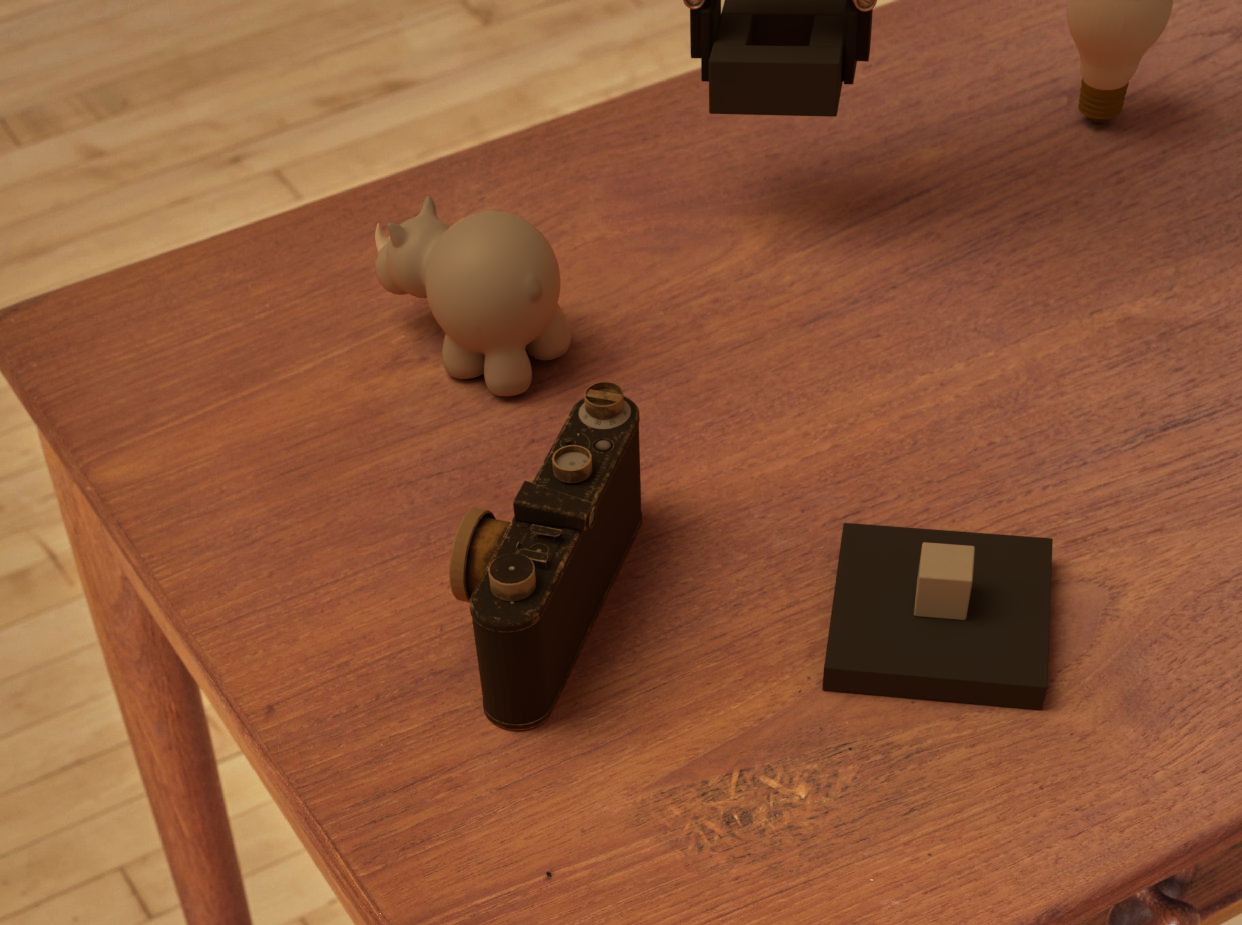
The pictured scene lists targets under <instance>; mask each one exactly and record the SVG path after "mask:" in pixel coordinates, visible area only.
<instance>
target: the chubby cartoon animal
mask: <svg viewBox="0 0 1242 925" xmlns="http://www.w3.org/2000/svg"><path fill="white" fill-rule="evenodd" d="M386 227H387V231H388V236H387V235H386V233H385V232H384V230H383V228H382V225H381V223H379V222H377V224H376V229H375V233H374V241H375V242H374V243H375V247H376V251H377V258H376V259H375V261H374V265H373V266H374V269H375V274H376V278H377V280H378V282H379V283H380V285H381V286H382V288H384V289H385V290H386V291H388V292H389V293H391V294H393V295H397V296H398V295H399V296H403V295H410V296H412V297H415V298H418V299H427V303H428V305H429V309H430V311H431V313H432V315H433V317H434V319H435V321H436V322H437V324H438V325H439V327H440V328H441V329H442V330H443V331H444V333H445V335H444V339H443V342H442V348H441V360H442V364H443V368H444V369H445V371H446V373H447V374H448V375H449V376H451V377H453V378H455V379H460V380H469V379H474V378H478V377H480V376H482V375H483V376H484V381H485V385H486V387H487V389H488V391H489V392H490V393H492V394H493V395H495V396H497V397H513V396H514V397H515V396H518V395H521V394H523V393H524V392H526V391H527V390H529V388H530V386H531V384H532V381H533V380H532V379H533V369H532V364H531V361H530V359H529V355H530V356H531V357H532V358H534V359H536V360H537V361H538V360H539V361H550V360H551V361H552V360H554V359H555V360H556V359H557V358H560V357H562V356H563V355H565V354H566V353H567V352H568V350H569V348H570V345H571V330H570V329H571V328H570V325H569V321H568V319H567V316H566V314H565V313H564V311H563V309H562V308H561V306H560V305H559V300H560V294H561V272H560V266H559V262H558V259H557V256H556V253H555V250H554V249H553V247H552V246H551V244H550V242H549V240H548V239H547V238H546V236H545V235H544V233H542V232H541V231H540V230H539V229H538V228H537V227H536V226H535V225H534V224H532V222H529V221H528V220H527V219H525V218H523V217H522V216H519V215H516V214H514V213H511V212H507V211H501V210H484V211H483V210H482V211H478V212H474V213H471V214H469V215H465V216H464V217H462V218H460V219H459V220H457V221H456V222H454V223H453V224H452V225H450V226H449V225H448V224H447V223H445V222H444V221H442V220H441V219H440V218H439V217H438V213H437V208H436V203H435V202H434V199H433V197H432V196H431V195H429V194H428V195H427V196H425V198H424V200H423V204H422V206H421V210H420V212H419V213H418V214H417V215H416V216H413V217H411V218H409V219H407V220H404V221H403V222H402V223H400V224H398V223H395V222H392V221H389V222H388V223H387V225H386ZM528 354H529V355H528Z"/></svg>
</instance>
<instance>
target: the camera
mask: <svg viewBox="0 0 1242 925" xmlns="http://www.w3.org/2000/svg"><path fill="white" fill-rule="evenodd" d="M624 394H625V393H624V390H623V388H622V387H621V386H620V385H619V384H617V383H614V382H611V381H600V382H596V383H593V384H591V385H590V386H589V387H587V388H586V389H585V391H584V397H582V398H580V399H579V400H578V401H577V402H576V403H575V404H574V405H573V406H572V408H571V410H570V412H569V414H568V416H567V417H566V419H565V421H564V423H563V425H562V427H561V429H560V431H559V432H558V434H557V436H556V437H555V439H554V442H553V443H552V445H551V447H550V449H549V451H548V453H547V454H546V456H545V458H544V459H543V461H542V464H541V465H540V467H539V469H538V471H537V473H536V475H535V477H534V479H533V481H528V480H523V482H522V484H521V486H520V488H519V489H518V491H517V493H516V495H515V497H514V498H513V501H512V507H513V517H512V519H511V521H506V520H502V519H497V517H495V514H494V513H493V512H492V511H491V510H489V509H484V508H479V507H473V508H471V509H469V510H468V511H467V512H466V513H464V515H463V517H462V519H461V520H460V523H459V525H458V527H457V529H456V532H455V535H454V538H453V541H452V546H451V547H452V548H451V552H450V557H449V558H450V559H449V569H448V570H449V572H448V573H449V574H448V576H449V577H448V579H449V586H450V591H451V593H452V596H453V597H454V598H455V599H456V600H457V601H460V602H465V603H469V604H468V606H469V611H470V616H471V619H472V620H471V621H472V627H473V628H472V629H473V636H474V642H475V643H474V644H475V650H476V657H477V665H478V672H479V680H480V688H481V696H482V708H483V713H484V715H485V717H486V719H488V720H489V722H491V723H492V724H494V725H496V726H497V727H499V728H502V729H505V730H511V731H525V730H530V729H533V728H536V727H539V726H540V725H542V724H543V723H545V722H546V720H548V719H549V717H550V716H551V714H552V713H553V710H554V708H555V706H556V704H557V702H558V699H559V698H560V697H561V696H560V695H561V694H562V691H563V690H564V687H565V685H566V683H567V682H568V679H569V677H570V675H571V673H572V671H573V668H574V667H575V664H576V662H577V660H578V658H579V656H580V654H581V652H582V651H583V650H582V649H583V647H584V646H585V644H586V641H587V640H588V637H589V635H590V633H591V631H592V630H593V627H594V625H595V622H596V621H597V618H598V617H599V614H600V612H601V611H602V608H603V607H604V604H605V602H606V600H607V598H608V596H609V595H610V594H609V593H610V591H611V589H612V587H613V585H614V583H615V581H616V579H617V577H618V575H619V573H620V570H621V569H622V566H623V564H624V563H625V561H626V559H627V556H628V554H629V552H630V550H631V548H632V546H633V544H634V542H635V539H636V537H637V535H638V532H639V531H640V530H641V527H642V524H643V511H642V487H641V486H642V482H641V481H642V480H641V449H640V448H641V446H640V421H641V420H640V409H639V406H638V405H637V404H636V403H635V402H634V401H633V400H632V399H630V398H629V397H627V396H624Z"/></svg>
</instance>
